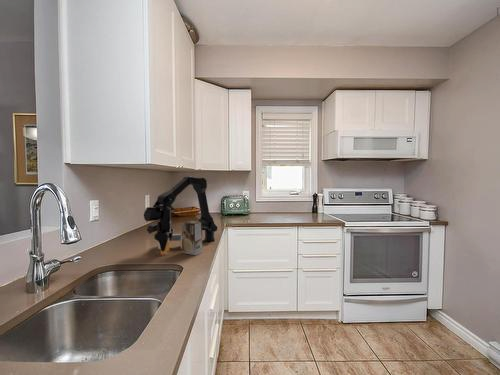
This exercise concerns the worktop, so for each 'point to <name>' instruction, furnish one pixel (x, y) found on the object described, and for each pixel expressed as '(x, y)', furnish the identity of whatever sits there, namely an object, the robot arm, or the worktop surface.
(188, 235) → the coffee box
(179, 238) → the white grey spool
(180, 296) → the worktop surface
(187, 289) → the worktop surface
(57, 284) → the worktop surface
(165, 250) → the orange u-channel
